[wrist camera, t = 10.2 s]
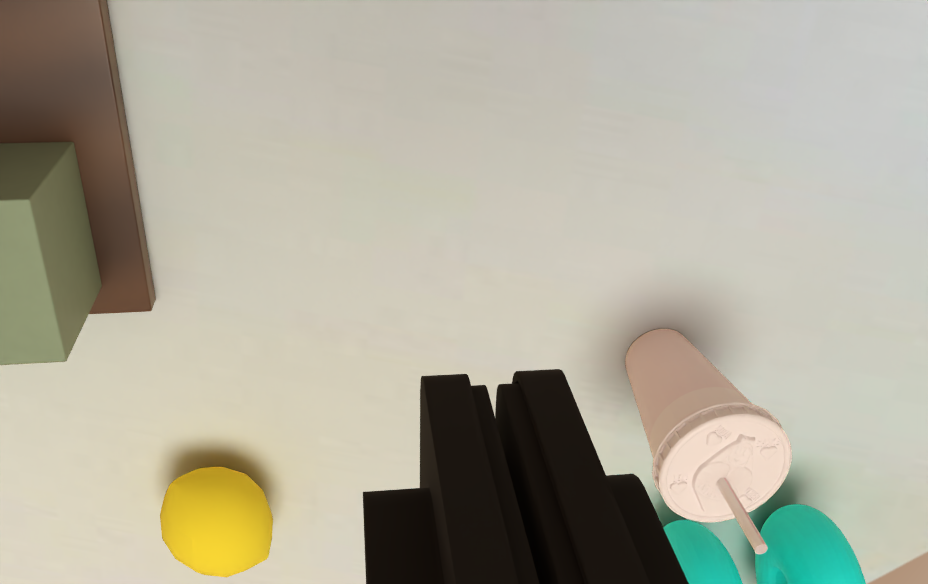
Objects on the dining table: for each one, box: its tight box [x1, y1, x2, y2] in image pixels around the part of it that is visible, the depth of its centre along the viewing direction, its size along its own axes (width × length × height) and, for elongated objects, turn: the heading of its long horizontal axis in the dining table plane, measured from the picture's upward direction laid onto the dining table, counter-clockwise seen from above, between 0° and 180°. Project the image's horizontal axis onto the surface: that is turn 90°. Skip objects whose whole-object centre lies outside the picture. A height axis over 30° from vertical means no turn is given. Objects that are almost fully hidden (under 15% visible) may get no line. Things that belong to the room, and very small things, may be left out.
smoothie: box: [625, 329, 792, 554], centre depth 43 cm, size 6×6×14 cm
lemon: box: [160, 467, 273, 577], centre depth 47 cm, size 7×5×5 cm
